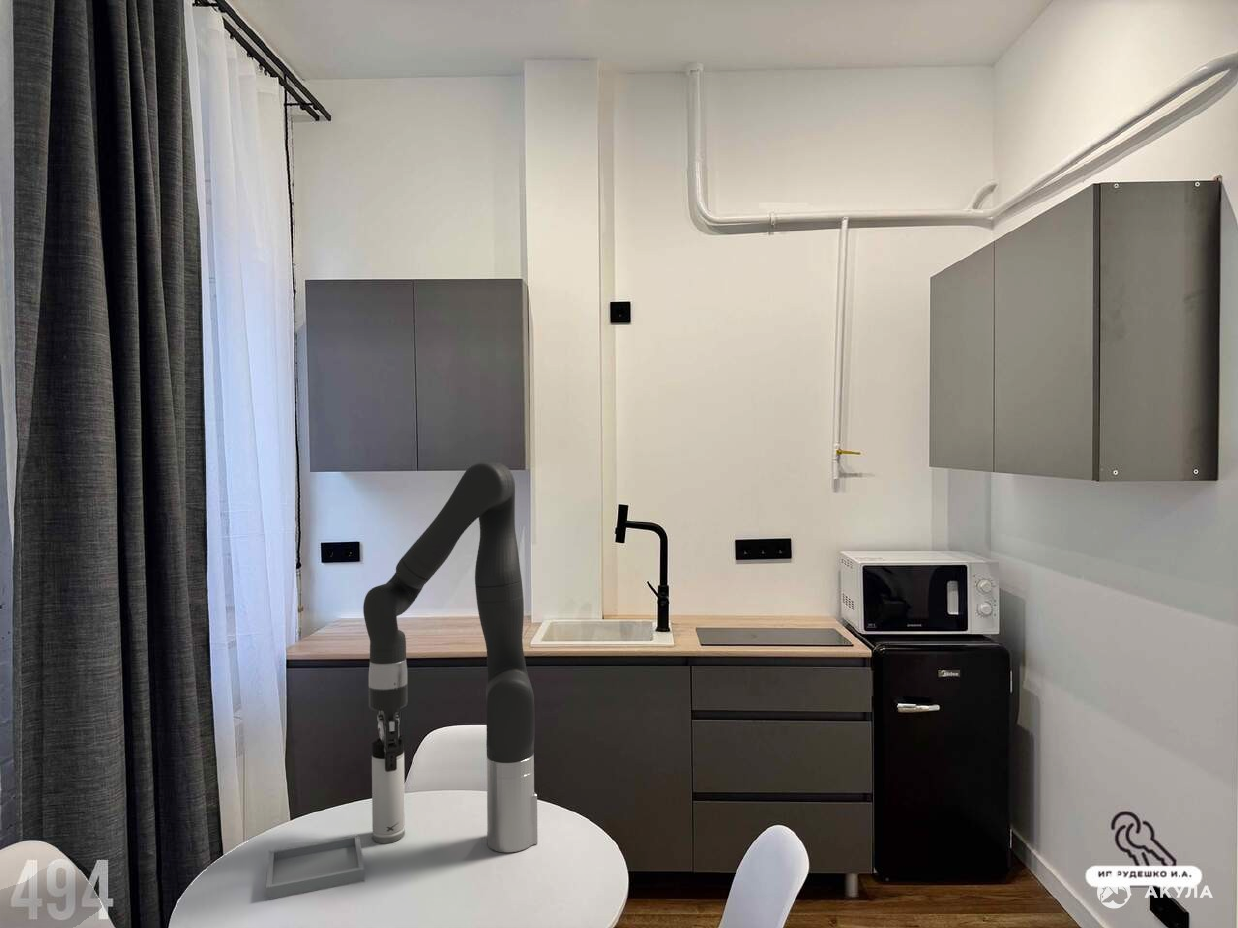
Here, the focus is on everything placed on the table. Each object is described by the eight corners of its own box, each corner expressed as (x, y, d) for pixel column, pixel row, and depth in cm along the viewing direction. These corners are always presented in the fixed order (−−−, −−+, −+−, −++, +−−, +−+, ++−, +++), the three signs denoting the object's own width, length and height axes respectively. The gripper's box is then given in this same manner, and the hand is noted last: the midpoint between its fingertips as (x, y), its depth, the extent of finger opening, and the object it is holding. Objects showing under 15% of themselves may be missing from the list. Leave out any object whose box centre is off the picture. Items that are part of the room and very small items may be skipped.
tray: (358, 846, 153) (358, 835, 153) (364, 880, 140) (363, 868, 140) (269, 862, 147) (269, 850, 147) (266, 900, 134) (266, 887, 134)
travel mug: (397, 845, 154) (396, 743, 154) (366, 842, 155) (365, 741, 155) (411, 830, 160) (411, 732, 160) (382, 827, 161) (381, 730, 161)
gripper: (411, 689, 152) (412, 773, 152) (403, 672, 166) (403, 748, 166) (371, 694, 150) (372, 778, 150) (366, 676, 163) (366, 754, 163)
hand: (388, 763), depth 158 cm, fingers open, 8 cm apart
